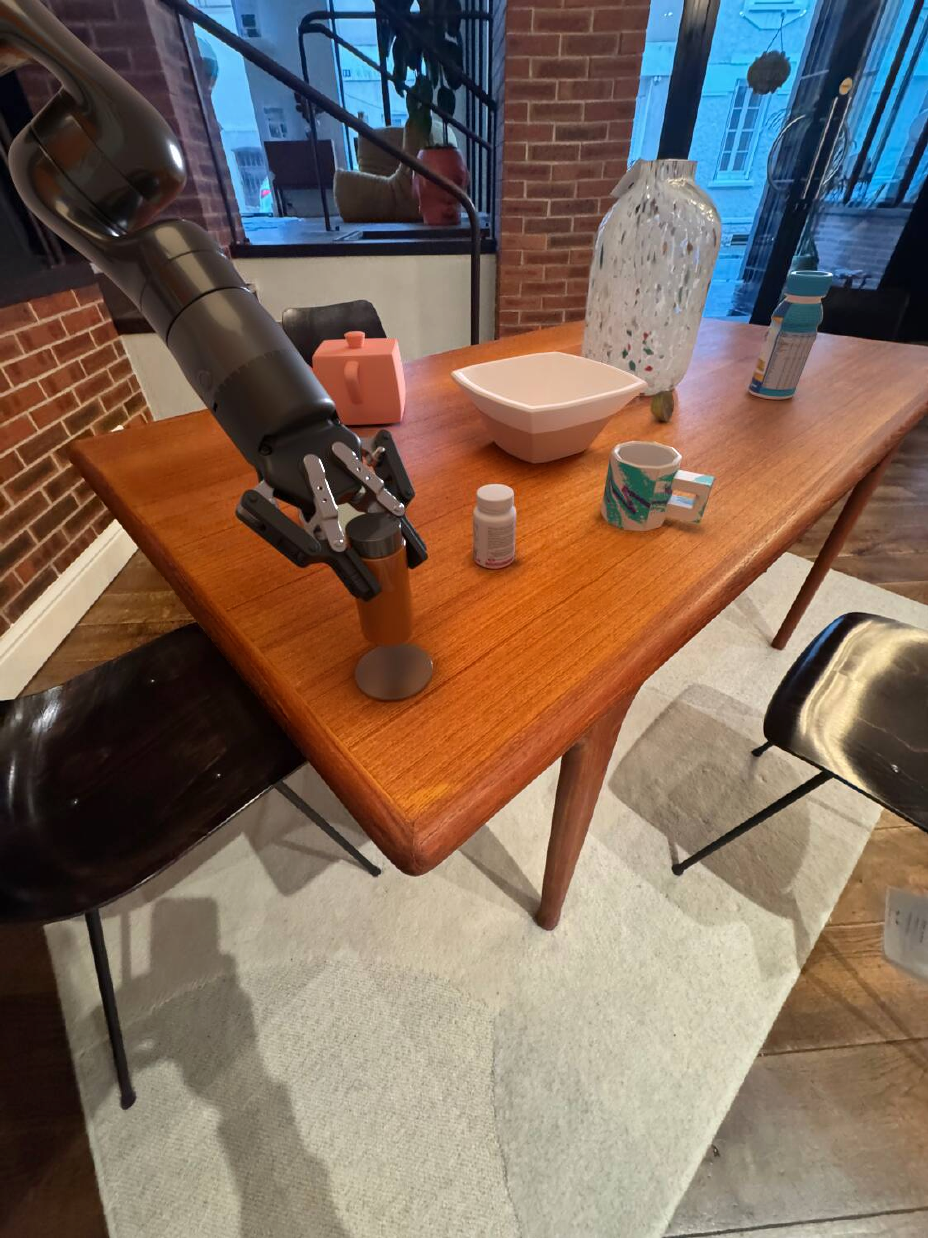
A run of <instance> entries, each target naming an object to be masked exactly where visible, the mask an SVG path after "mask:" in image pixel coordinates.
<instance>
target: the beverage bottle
mask: <svg viewBox="0 0 928 1238" xmlns="http://www.w3.org/2000/svg"><path fill="white" fill-rule="evenodd" d="M833 279H834V274H833V273H831V272H827V271H818V270H797V271H792V272H791V273H790V274H789V276H788V279H787V281H786V284H785V288H784V293H783V295H784V296H786V297H785V298H784V299H783V300H782V302H780V303H779V305H778V306H777V307H776V308H775V309H774V311H773V313H772V314H771V317H770V320H771V323H770V325H769V326H768V327H767V328H766V331H765V333H764V339H763V342H762V344H761V348H760V351H759V354H758V358H757V362H756V365H755V368H754V371H753V374H752V377H751V381H750V383H749V386H748V392H749V393H750V394H751V396H754V397H756V398H761V399H764V400H772V401H774V400H775V401H779V400H780V401H782V400H783V401H784V400H787V399H788V400H789V399H790V398H792V397H793V396H794V395H795V393H796V391H797V387H798V384H799V381H800V379H801V376H802V374H803V372H804V369H805V366H806V363H807V361H808V358H809V356H810V353H811V350H812V348H813V345H814V343H815V342H816V340H817V338H818V327H819V325H820V324H821V323H822V322H823V319H824V308H823V303H822V300H821V299H823V298H825V297H826V296H827V295H828V294H829V293H828V292H829V290H830V288H831V285H832V282H833Z"/></svg>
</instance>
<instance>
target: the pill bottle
mask: <svg viewBox="0 0 928 1238" xmlns="http://www.w3.org/2000/svg"><path fill="white" fill-rule="evenodd" d="M514 495H515V492H514V490H513V488H511V487H510V486H508V485H505V484H501V483H500V484H499V483H490V484H485V485H483V486H480V487H479V488H478V489H477V490H476V497H475V502H476V506H475V507H474V508H473V512H472V546H473V547H472V549H473V554H472V555H473V560H474V562H475V563H476V564H478V566H481V567H483V568H486V569H495V570H496V569H502V568H505V567H507V566H509V565H511V563H512V562H513V561H514V560H515V552H516V551H515V549H516V548H515V547H516V527H517V509H516V507H515V506H514V503H515V496H514Z"/></svg>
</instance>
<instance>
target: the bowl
mask: <svg viewBox="0 0 928 1238" xmlns="http://www.w3.org/2000/svg"><path fill="white" fill-rule="evenodd" d="M450 377H451V379H452V380H453V381H454V383H455V384H456V385H457V386H458V388H459V389H460V390H461V391H462V392H463V393H464V394H465V395H466V397H467V398H468V399H469V400H470V401H471V402H472V404H473V405H474V407H475V409H476V410H477V412H478V415H479V416H480V418H481V420H482V421H483V423H484V425H485V427H486V429H487V431H488V433H489V434H490V437H491V439H492V441H493V442H494V443H495V444H496V445H497V446H498V447H499V448H500V449H501V450H503V451H504V452H505V453H507V454H509V455H511V456H513V457H515V458H517V459H520V460H522V461H525V462H527V463H530V464H533V465H536V464H542V463H548V462H552V461H556V460H559V459H562V458H566V457H569V456H573V455H575V454H579V453H582V452H584V451H586V450H588V449H589V448H590V447H591V445H592V444H593V443H594V442H595V441H596V439H597V438H598V437H599V435H600V434H601V433H602V431H603V430H604V429H605V428H606V426H607V425H608V424H609V422H611V420H612V419H613V418H614V416H615V415H616V414H617V413H619V412H620V410H621V409H623V408H624V407H625V406H626V405H628V404H629V403H630V402H631V401H632V400H634V399H635V398H636V397H637V396H639V395H640V394H641V393H642V392H643V391H644V390H646V389H647V387H648V383H647V381H645V380H643V379H642V378H639V377H638V376H636V375H634V374H632V373H631V372H627V371H625V370H623V369H620V368H617V367H615V366H612V365H610V364H608V363H604V362H601V361H596V360H594V359H590V358H586V357H583V356H579V355H575V354H570V353H565V352H560V351H550V352H549V351H548V352H539V353H538V352H537V353H530V354H525V355H520V356H519V355H518V356H513V357H507V358H503V359H496V360H492V361H487V362H482V363H476V364H472V365H469V366H465V367H462V368H459V369H455V370H453V371H451V373H450Z"/></svg>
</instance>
